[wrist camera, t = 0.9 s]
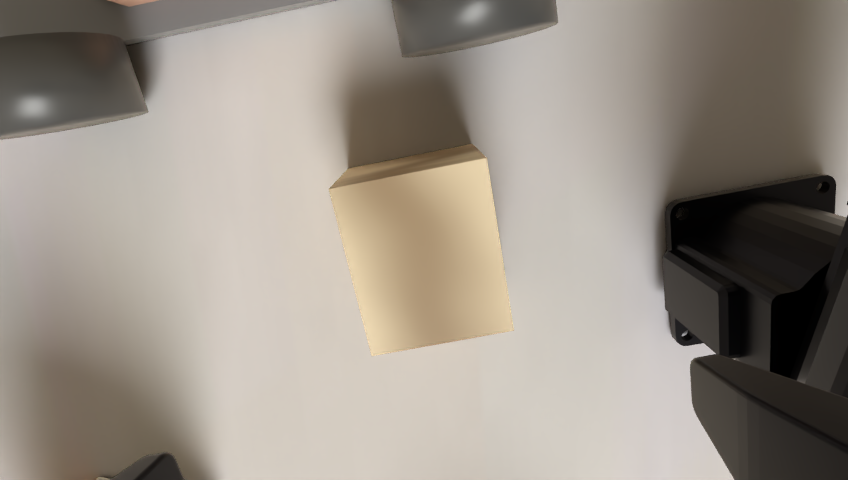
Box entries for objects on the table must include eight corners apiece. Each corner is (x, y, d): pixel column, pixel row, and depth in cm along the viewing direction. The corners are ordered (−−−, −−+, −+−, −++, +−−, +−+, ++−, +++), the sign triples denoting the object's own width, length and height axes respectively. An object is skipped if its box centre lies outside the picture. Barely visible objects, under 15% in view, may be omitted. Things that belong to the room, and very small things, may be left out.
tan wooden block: (471, 143, 19) (486, 157, 15) (494, 281, 21) (513, 330, 17) (348, 167, 19) (328, 189, 15) (381, 302, 21) (371, 356, 17)
